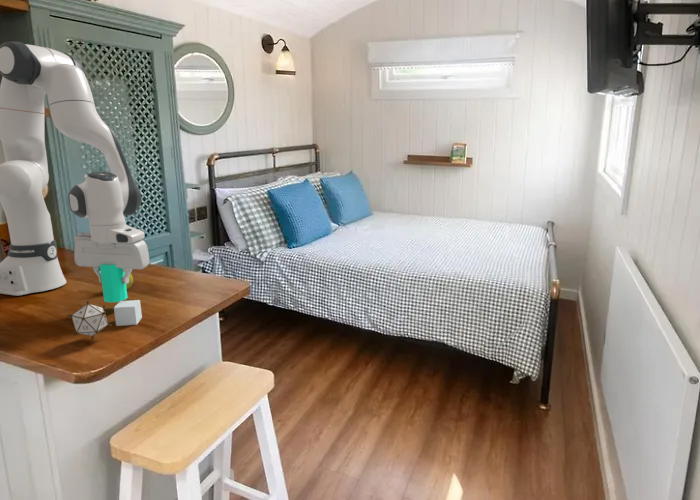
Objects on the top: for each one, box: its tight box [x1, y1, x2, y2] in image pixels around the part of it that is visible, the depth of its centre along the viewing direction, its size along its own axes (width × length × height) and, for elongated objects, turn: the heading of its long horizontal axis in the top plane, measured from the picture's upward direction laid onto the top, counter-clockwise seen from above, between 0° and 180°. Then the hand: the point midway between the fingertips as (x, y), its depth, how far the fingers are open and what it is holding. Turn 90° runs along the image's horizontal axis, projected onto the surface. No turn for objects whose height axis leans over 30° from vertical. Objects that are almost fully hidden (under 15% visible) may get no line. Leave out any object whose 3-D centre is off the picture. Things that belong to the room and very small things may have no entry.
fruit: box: [126, 273, 134, 291], centre depth 152 cm, size 6×6×12 cm
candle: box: [100, 264, 128, 303], centre depth 135 cm, size 6×6×12 cm
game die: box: [67, 300, 113, 340], centre depth 116 cm, size 9×8×10 cm
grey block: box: [113, 299, 143, 327], centre depth 128 cm, size 5×5×5 cm
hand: (114, 282), depth 135 cm, fingers closed on candle, 5 cm apart
